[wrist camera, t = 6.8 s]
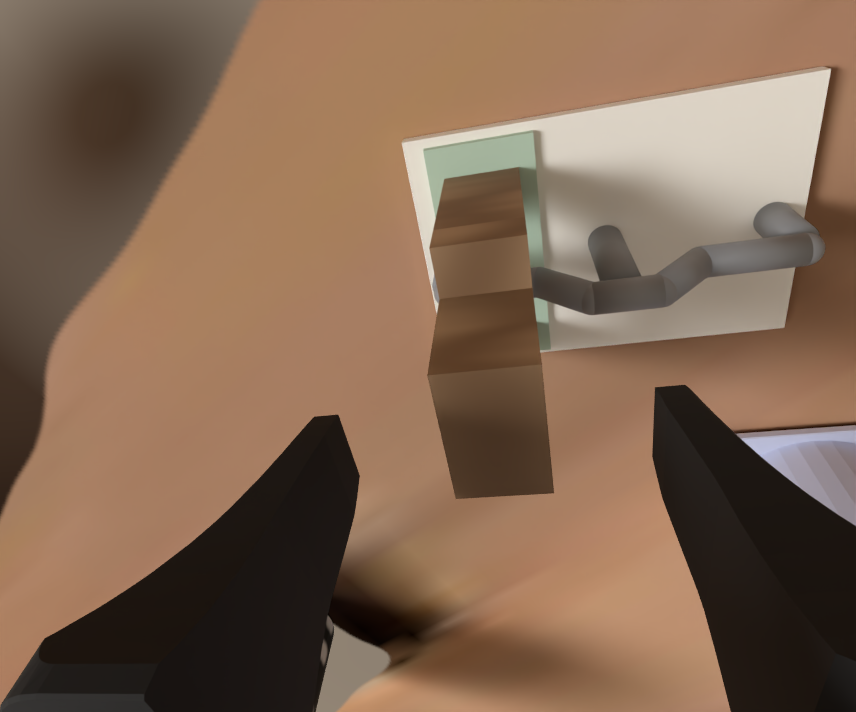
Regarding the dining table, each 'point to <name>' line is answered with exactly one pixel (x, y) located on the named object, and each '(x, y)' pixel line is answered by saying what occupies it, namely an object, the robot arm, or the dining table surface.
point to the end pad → (492, 158)
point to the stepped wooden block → (487, 341)
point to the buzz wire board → (665, 208)
